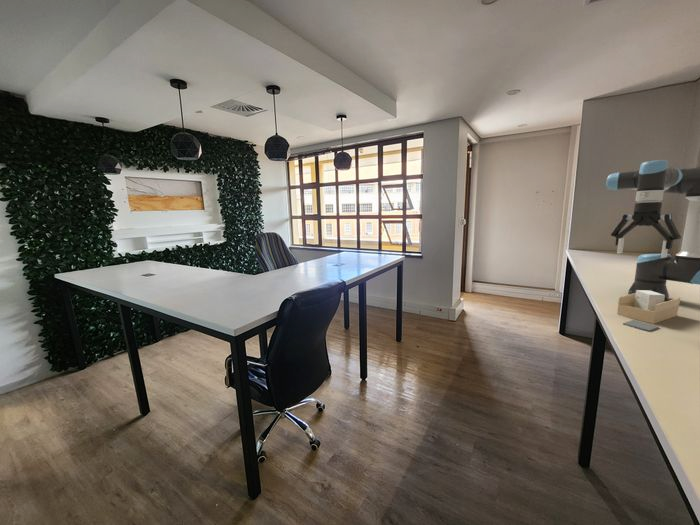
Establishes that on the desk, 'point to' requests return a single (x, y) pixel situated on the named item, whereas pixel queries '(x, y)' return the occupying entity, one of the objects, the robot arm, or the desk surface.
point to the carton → (660, 314)
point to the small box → (648, 299)
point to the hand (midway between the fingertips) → (640, 255)
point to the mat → (641, 325)
